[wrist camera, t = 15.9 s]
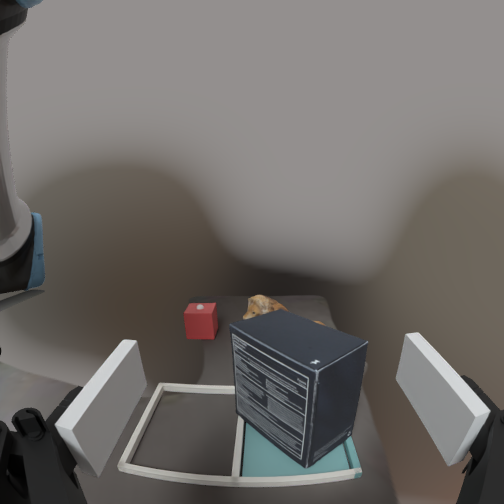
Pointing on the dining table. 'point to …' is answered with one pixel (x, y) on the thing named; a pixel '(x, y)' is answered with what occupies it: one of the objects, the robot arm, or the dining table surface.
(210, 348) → the dining table surface
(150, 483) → the dining table surface
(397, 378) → the robot arm
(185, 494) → the dining table surface
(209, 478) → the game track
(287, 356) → the small box
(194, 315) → the red block
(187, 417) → the dining table surface
